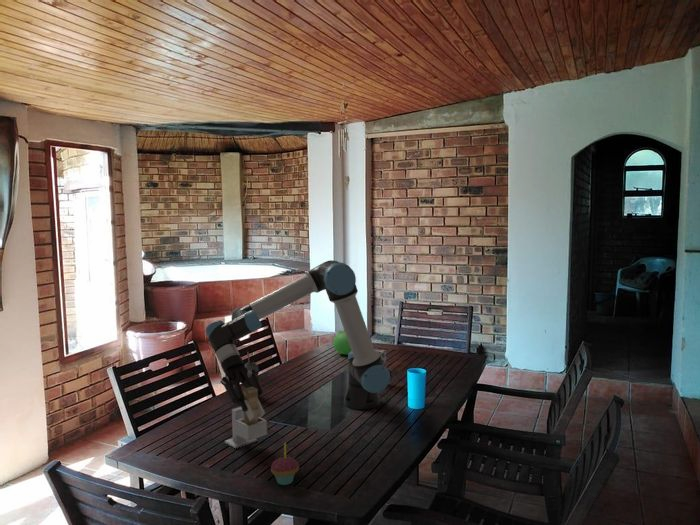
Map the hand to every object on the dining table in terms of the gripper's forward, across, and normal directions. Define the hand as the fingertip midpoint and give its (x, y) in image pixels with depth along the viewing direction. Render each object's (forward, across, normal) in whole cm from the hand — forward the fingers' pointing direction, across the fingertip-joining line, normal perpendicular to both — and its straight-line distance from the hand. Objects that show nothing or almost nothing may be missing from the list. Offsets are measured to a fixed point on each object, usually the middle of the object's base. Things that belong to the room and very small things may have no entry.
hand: (257, 416), depth 180 cm
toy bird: (-39, -110, -57) cm, 130 cm away
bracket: (+4, 0, -14) cm, 14 cm away
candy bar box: (-6, -81, -24) cm, 85 cm away
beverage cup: (-25, -30, -43) cm, 58 cm away
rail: (+1, 0, -6) cm, 6 cm away
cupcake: (+25, +6, +7) cm, 26 cm away
